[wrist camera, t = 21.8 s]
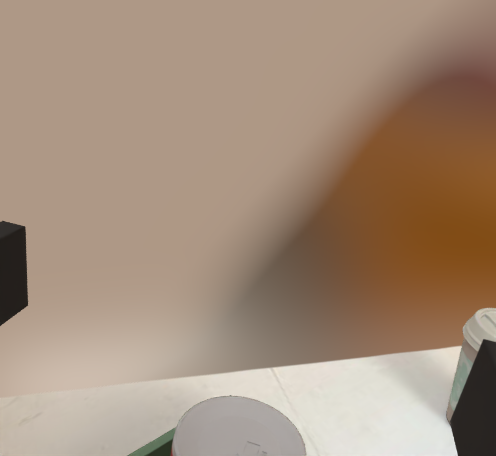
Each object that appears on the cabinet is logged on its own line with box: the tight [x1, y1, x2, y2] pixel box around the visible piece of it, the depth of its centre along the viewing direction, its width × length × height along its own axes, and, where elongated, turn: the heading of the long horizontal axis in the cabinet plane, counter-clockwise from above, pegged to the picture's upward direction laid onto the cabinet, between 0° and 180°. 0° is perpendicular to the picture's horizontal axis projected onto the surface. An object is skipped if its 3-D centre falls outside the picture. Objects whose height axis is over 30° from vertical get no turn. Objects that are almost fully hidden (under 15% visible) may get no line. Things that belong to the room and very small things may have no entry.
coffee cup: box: [446, 308, 496, 425], centre depth 46 cm, size 8×8×12 cm
